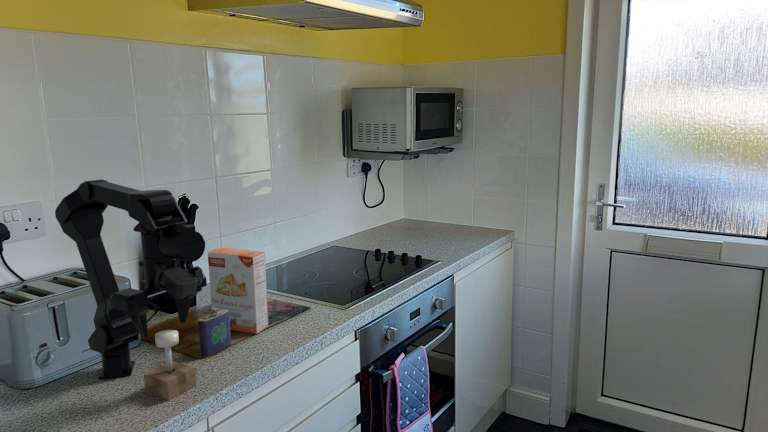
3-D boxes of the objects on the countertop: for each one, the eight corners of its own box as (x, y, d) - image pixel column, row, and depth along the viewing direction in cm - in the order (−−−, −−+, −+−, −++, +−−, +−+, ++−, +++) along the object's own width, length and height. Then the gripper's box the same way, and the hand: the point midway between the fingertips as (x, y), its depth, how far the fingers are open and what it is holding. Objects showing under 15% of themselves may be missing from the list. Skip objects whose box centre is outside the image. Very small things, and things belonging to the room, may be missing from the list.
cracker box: (211, 328, 147) (206, 251, 143) (225, 320, 152) (221, 246, 149) (256, 335, 142) (252, 256, 138) (269, 327, 147) (265, 250, 144)
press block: (145, 392, 113) (143, 374, 113) (173, 378, 119) (171, 360, 119) (169, 400, 110) (167, 381, 109) (196, 385, 116) (195, 367, 115)
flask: (225, 342, 138) (223, 301, 136) (235, 344, 137) (232, 303, 135) (197, 356, 130) (194, 313, 128) (207, 359, 129) (204, 315, 127)
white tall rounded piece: (153, 373, 113) (150, 335, 112) (170, 365, 117) (167, 328, 115) (168, 378, 111) (165, 339, 110) (185, 369, 115) (182, 332, 113)
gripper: (144, 272, 97) (151, 356, 100) (223, 249, 113) (227, 322, 116) (104, 264, 103) (112, 343, 105) (185, 243, 119) (190, 313, 121)
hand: (164, 330), depth 112 cm, fingers open, 9 cm apart
